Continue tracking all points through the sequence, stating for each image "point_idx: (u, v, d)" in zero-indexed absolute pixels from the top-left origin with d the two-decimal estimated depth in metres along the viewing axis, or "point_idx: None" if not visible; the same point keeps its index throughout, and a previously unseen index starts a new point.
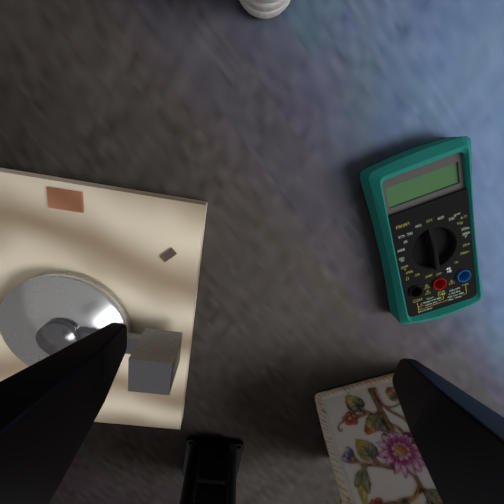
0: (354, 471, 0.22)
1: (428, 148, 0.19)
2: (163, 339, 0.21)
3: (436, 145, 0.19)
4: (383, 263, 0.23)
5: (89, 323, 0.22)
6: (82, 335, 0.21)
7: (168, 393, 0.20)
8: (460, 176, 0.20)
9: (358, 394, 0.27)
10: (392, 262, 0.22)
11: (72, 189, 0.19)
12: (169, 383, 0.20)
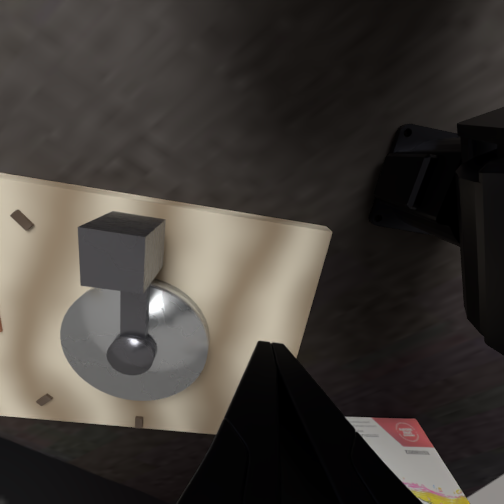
0: None
1: None
2: None
3: None
4: None
5: (116, 320, 0.18)
6: (124, 330, 0.18)
7: (142, 238, 0.12)
8: None
9: None
10: None
11: None
12: (119, 234, 0.12)
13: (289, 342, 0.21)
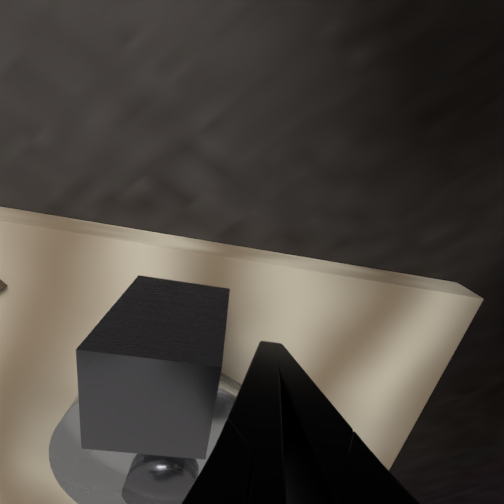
0: None
1: None
2: None
3: None
4: None
5: None
6: None
7: (214, 368, 0.06)
8: None
9: None
10: None
11: None
12: (166, 361, 0.06)
13: (386, 445, 0.14)
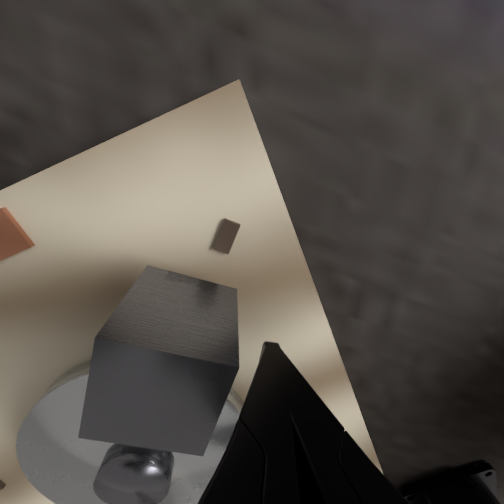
0: None
1: None
2: None
3: None
4: None
5: None
6: (129, 445, 0.11)
7: (231, 368, 0.06)
8: None
9: None
10: None
11: None
12: (185, 358, 0.06)
13: None
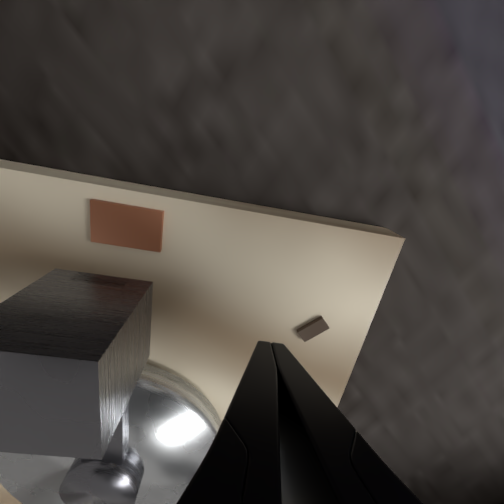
0: None
1: None
2: None
3: None
4: None
5: None
6: None
7: (90, 363, 0.05)
8: None
9: None
10: None
11: (143, 205, 0.09)
12: (35, 356, 0.05)
13: None
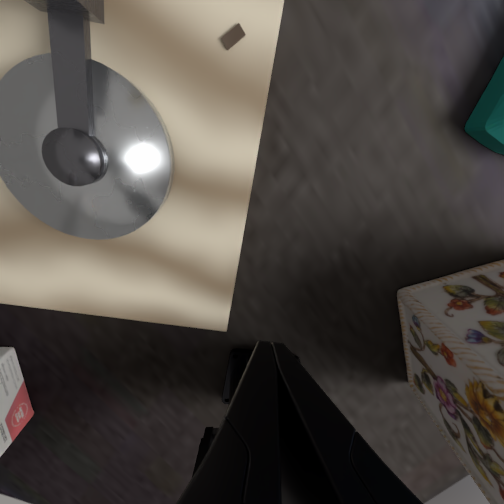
0: (492, 351, 0.15)
1: None
2: None
3: None
4: None
5: (54, 113, 0.15)
6: (62, 119, 0.14)
7: None
8: None
9: (460, 283, 0.21)
10: None
11: None
12: None
13: (110, 307, 0.21)
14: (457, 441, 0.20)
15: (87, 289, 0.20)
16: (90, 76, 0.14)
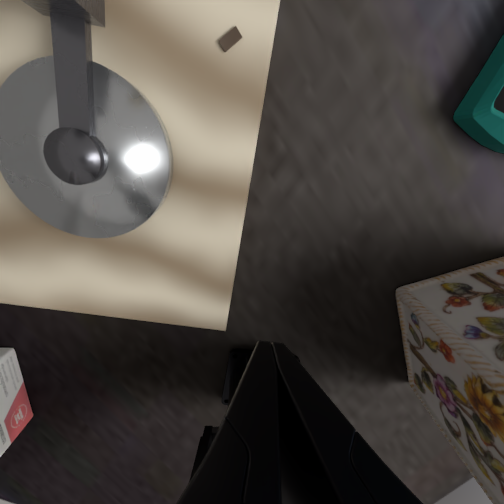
0: (490, 346, 0.15)
1: None
2: None
3: None
4: None
5: (56, 114, 0.15)
6: (63, 119, 0.15)
7: None
8: None
9: (458, 280, 0.21)
10: None
11: None
12: None
13: (110, 307, 0.21)
14: (458, 440, 0.20)
15: (87, 288, 0.20)
16: (91, 77, 0.14)
